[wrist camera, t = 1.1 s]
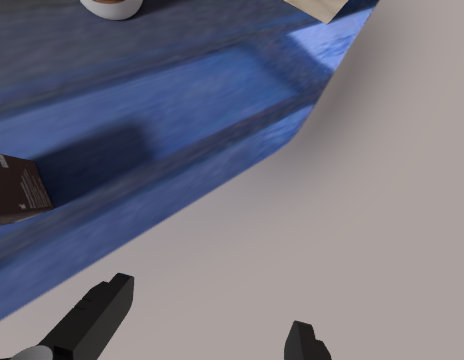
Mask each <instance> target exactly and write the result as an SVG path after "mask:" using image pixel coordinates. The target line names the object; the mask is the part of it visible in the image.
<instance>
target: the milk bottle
mask: <svg viewBox="0 0 464 360" xmlns="http://www.w3.org/2000/svg"><path fill="white" fill-rule="evenodd" d="M80 1H81V2H82V4H83V5H84V6H85V7H86V8H87V9H88V10H90V11H91V12H92V13H94V14H96V15H98V16H99V17H102V18H105V19H109V20H122V19H126V18H129V17H131V16H132V15H134V14H135V13H136V12H137V11H138V10H139V8H140V6H141V4H142V2H143V0H80Z"/></svg>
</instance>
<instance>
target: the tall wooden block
mask: <svg viewBox="0 0 464 360" xmlns="http://www.w3.org/2000/svg"><path fill="white" fill-rule="evenodd" d="M284 1H286V2H288V3H289V4H291V5H293V6H295V7H297V8H298V9H300V10H302V11H304V12H306V13H307V14H309V15H311V16H313V17H315V18H316V19H318V20H320V21H322V22H323V23H325V24H328V23H329V22H330V21H331V19H332V18H333V17H334V16H335V15H336V14H337V13H338V11H339V10H340V9H341V8H342V7H343V6H344V5H345V3H346V2H347V1H348V0H284Z"/></svg>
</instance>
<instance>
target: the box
mask: <svg viewBox="0 0 464 360" xmlns="http://www.w3.org/2000/svg"><path fill="white" fill-rule="evenodd" d="M53 209H54V207H53V205H52V203H51V201H50V198H49V196H48V194H47V192H46V189H45V187H44V185H43V183H42V180H41V178H40V176H39V173H38V170H37V168H36V165H35V162H34V161H30V160H25V159H21V158H16V157H12V156H7V155H2V154H0V225H5V224H11V223H15V222H19V221H22V220H25V219H27V218H30V217H33V216H36V215H38V214H41V213H44V212H47V211H50V210H53Z"/></svg>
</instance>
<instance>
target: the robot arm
mask: <svg viewBox="0 0 464 360" xmlns="http://www.w3.org/2000/svg"><path fill="white" fill-rule="evenodd" d="M133 290H134V277H133V276H129V275H126V274H122V273H117V274H116V275H115V276H114V277H113V279H112V280H111V281H110V282H109V283H108V282H104V281H103V282H101V283H100V284H98V285H96V286H95V287H93V288H92V289H90V290H89V291H88V293H87V294H86V295H85V296H84V297H83V298H82V300H80V301H79V302H78V303H77V304H76V305H75V307H74V308H72V309H71V311H70V312H69V313H68V314H67V315H66V316H65V317H64V318H63V319H62V320H61V321H60V322H59V323H58V324H57V325H56V326H55V327H54V329H52V330H51V331H50V333H49V334H48V335H47V336H46V337H45V338H44V339H43V340H42V341H41V342H40V343H39V344H38V345H36V346H33V347H30V348H27V349H25V350H23V351H21V352H19V353H18V354H16V355H15V356H13V357H11V358H5V359H0V360H97V359H98V357H99V356H100V354H101V353H102V351H103V350H104V348H105V347H106V345H107V344H108V342H109V341H110V339H111V337H112V336H113V335H114V333H115V332H116V330H117V328H118V327H119V325H120V324H121V322H122V321H123V319H124V318H125V316H126V315H127V313H128V311H129V310H130V307H131V305H132V301H133ZM284 360H332V359H331V355H330V353H329V351H328V350H327V348H326V346H325V345H324V343H323V341H320V340H316V339H315V335H314V330H313V327H312V325H311V324H307V323H303V322H299V321H294V322H293V325H292V327H291V330H290V333H289V335H288V338H287V340H286V343H285V348H284Z"/></svg>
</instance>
